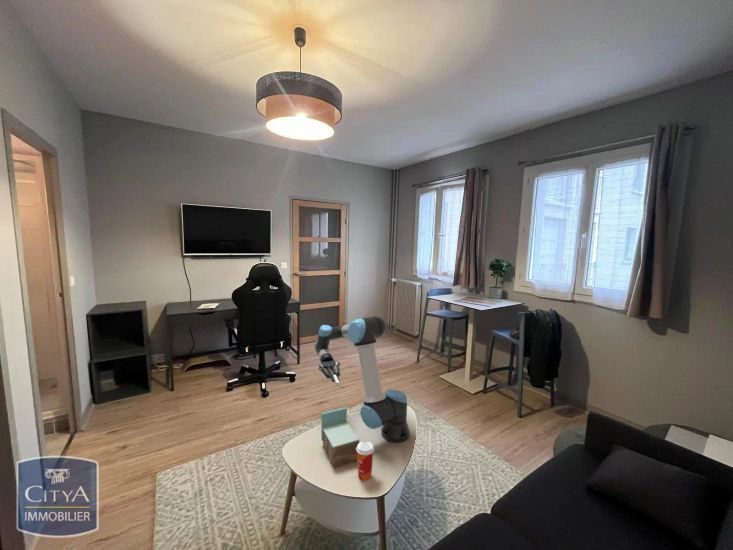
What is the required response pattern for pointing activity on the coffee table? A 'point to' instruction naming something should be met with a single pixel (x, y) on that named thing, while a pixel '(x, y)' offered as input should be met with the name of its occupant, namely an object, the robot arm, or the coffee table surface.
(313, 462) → the coffee table surface
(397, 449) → the coffee table surface
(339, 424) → the teal l-shaped piece
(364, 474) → the pill bottle
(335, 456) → the walnut box
